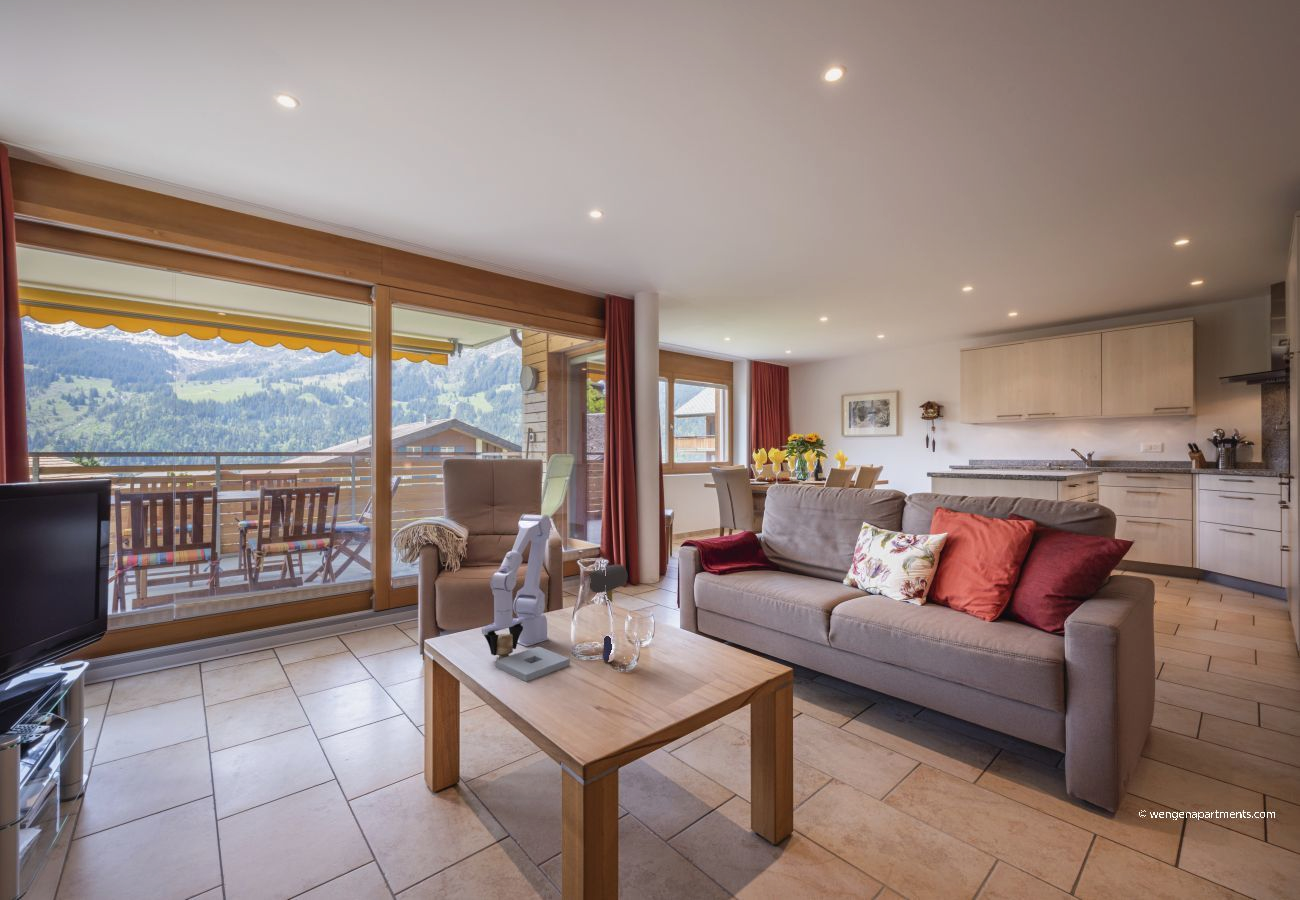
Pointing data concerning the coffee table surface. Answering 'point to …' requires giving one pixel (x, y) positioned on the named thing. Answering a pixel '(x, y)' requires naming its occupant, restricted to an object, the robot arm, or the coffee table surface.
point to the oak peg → (504, 645)
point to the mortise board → (532, 663)
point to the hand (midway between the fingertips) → (503, 651)
